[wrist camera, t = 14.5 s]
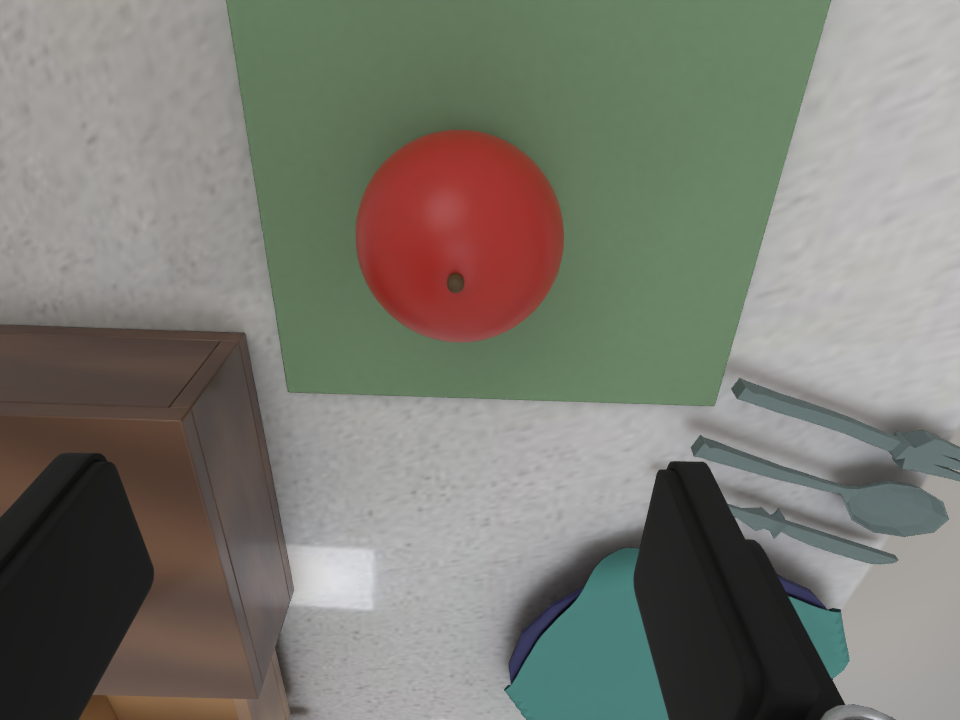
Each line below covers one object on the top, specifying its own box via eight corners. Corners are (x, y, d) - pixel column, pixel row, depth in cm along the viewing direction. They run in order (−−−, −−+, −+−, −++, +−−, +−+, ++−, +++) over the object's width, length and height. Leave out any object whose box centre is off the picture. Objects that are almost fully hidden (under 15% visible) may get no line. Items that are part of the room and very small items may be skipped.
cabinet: (294, 590, 36) (258, 700, 30) (49, 583, 36) (-32, 692, 30) (245, 332, 27) (181, 420, 21) (-82, 321, 27) (-234, 407, 21)
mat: (291, 385, 28) (287, 392, 28) (206, -166, 18) (198, -170, 18) (710, 399, 29) (715, 406, 28) (861, -138, 18) (872, -142, 18)
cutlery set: (462, 691, 41) (461, 726, 39) (703, 342, 26) (720, 371, 24) (710, 747, 45) (720, 782, 43) (1046, 470, 30) (1084, 504, 28)
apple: (378, 288, 25) (341, 387, 19) (368, 109, 22) (318, 156, 15) (545, 293, 25) (565, 394, 19) (562, 116, 22) (594, 165, 15)
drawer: (313, 759, 45) (295, 837, 40) (131, 754, 44) (95, 831, 40) (273, 570, 34) (243, 649, 30) (33, 563, 34) (-29, 641, 30)
